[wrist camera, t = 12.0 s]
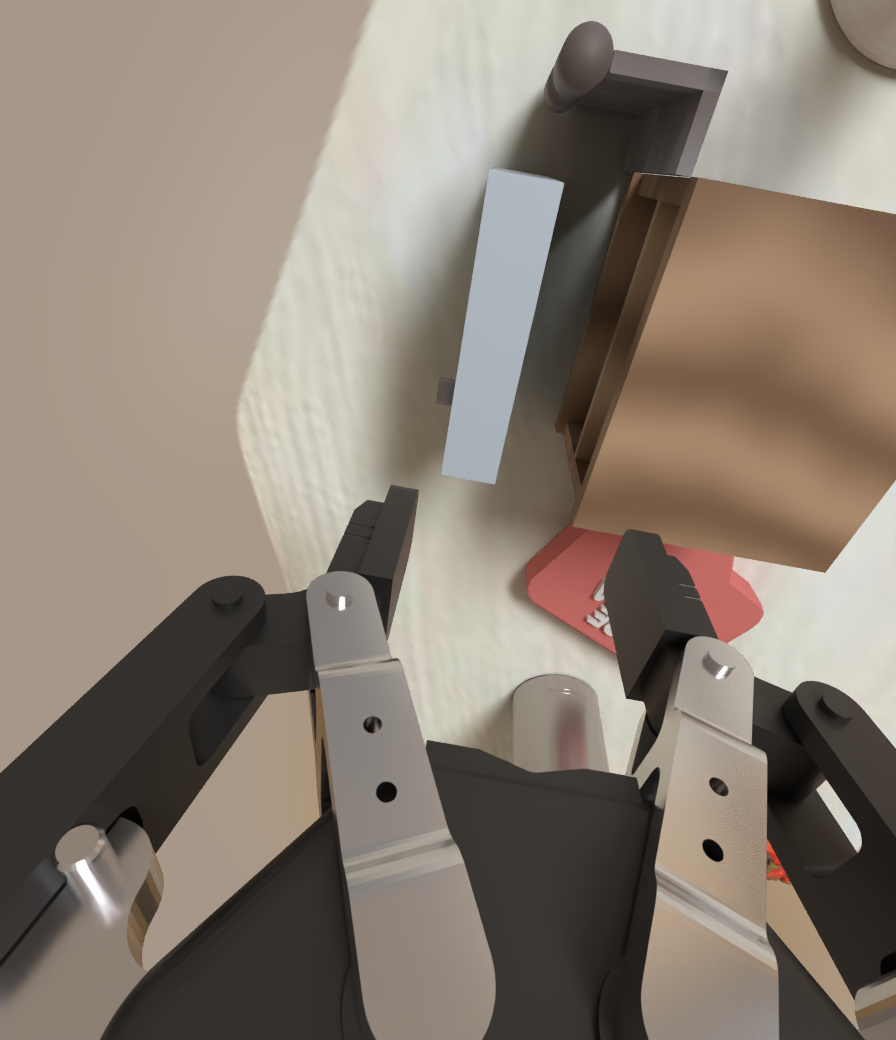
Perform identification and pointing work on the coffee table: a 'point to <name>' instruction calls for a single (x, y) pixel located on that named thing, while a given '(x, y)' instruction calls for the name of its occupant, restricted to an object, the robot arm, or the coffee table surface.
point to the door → (498, 319)
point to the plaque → (581, 575)
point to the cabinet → (725, 339)
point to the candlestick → (869, 27)
